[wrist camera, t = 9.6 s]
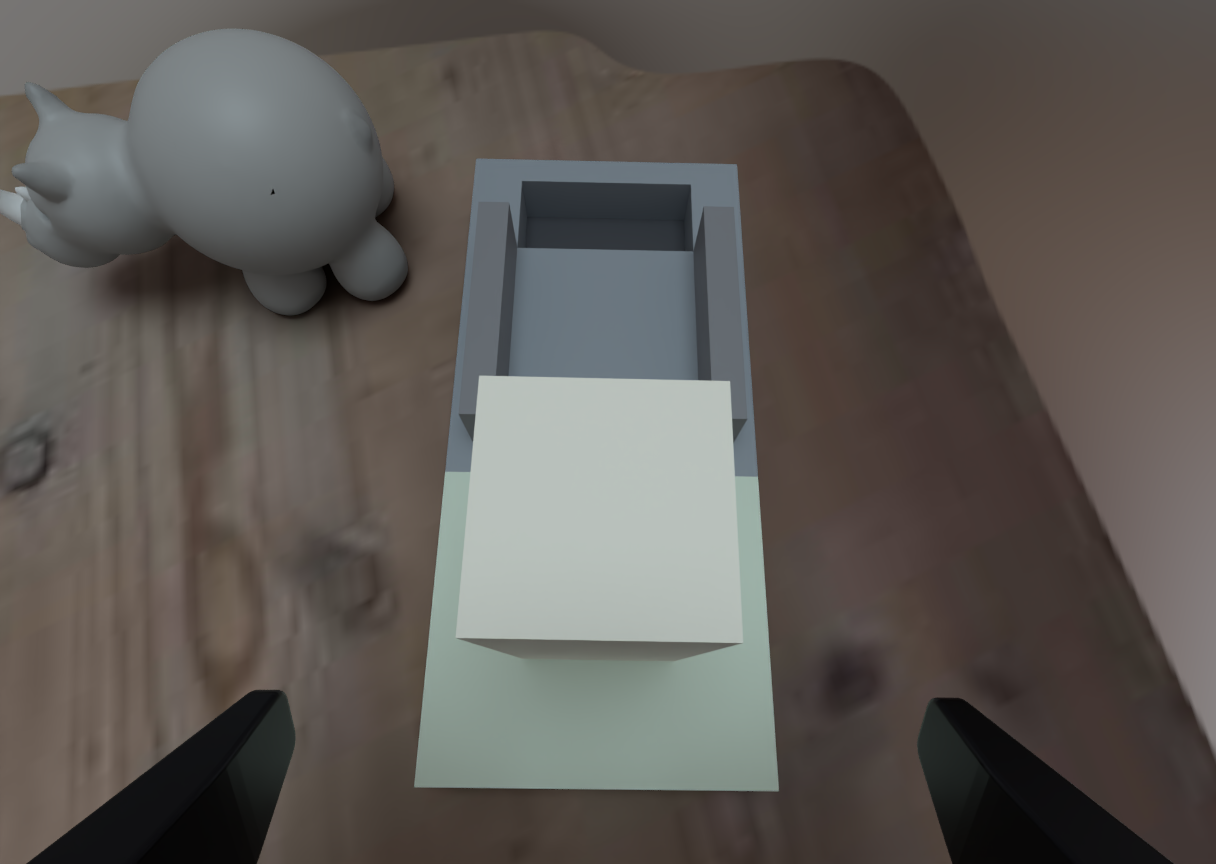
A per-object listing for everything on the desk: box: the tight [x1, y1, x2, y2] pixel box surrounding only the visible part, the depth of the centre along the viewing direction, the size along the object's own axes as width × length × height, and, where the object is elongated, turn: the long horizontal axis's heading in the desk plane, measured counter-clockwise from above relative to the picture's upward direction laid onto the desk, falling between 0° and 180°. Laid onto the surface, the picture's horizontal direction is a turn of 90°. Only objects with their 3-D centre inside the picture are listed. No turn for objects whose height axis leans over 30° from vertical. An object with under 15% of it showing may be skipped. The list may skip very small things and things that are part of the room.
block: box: [456, 376, 743, 661], centre depth 16 cm, size 4×4×10 cm
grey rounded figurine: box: [0, 29, 408, 315], centre depth 23 cm, size 8×12×9 cm, turn 100°
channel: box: [414, 159, 779, 791], centre depth 22 cm, size 22×10×5 cm, turn 179°
